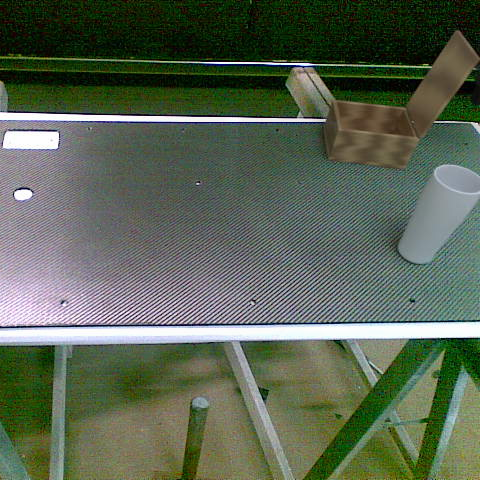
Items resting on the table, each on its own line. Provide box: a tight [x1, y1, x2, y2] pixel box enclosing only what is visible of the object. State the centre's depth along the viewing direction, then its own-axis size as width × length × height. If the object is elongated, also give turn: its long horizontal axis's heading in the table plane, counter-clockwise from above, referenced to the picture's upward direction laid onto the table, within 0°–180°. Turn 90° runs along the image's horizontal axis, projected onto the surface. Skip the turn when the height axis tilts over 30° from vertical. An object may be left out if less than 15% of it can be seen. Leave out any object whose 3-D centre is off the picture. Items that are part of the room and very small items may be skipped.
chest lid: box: [405, 29, 480, 139], centre depth 85 cm, size 15×12×10 cm
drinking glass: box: [397, 164, 480, 265], centre depth 70 cm, size 7×7×15 cm
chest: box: [322, 99, 421, 170], centre depth 94 cm, size 15×12×7 cm
